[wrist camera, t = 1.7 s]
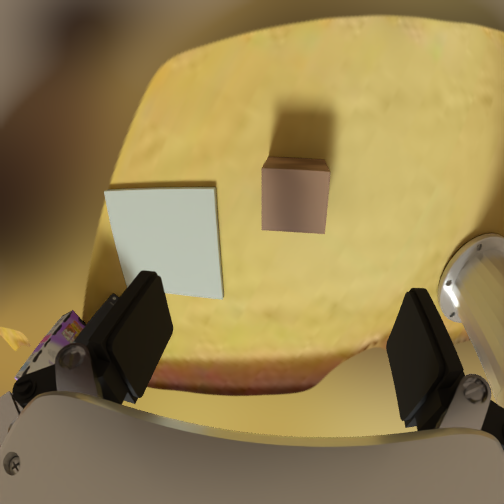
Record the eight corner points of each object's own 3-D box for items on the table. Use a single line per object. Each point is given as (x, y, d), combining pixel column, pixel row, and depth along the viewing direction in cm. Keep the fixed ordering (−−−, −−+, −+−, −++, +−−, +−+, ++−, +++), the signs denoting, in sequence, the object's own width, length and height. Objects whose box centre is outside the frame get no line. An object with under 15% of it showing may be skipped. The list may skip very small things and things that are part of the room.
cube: (324, 159, 24) (330, 172, 19) (320, 211, 26) (324, 233, 22) (268, 156, 24) (261, 168, 20) (268, 208, 27) (261, 230, 23)
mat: (215, 187, 26) (214, 188, 26) (223, 296, 33) (222, 299, 32) (107, 189, 28) (104, 191, 28) (129, 285, 35) (127, 287, 34)
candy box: (61, 315, 42) (12, 377, 28) (73, 308, 40) (19, 376, 26) (108, 366, 47) (71, 430, 33) (124, 363, 45) (86, 434, 31)
